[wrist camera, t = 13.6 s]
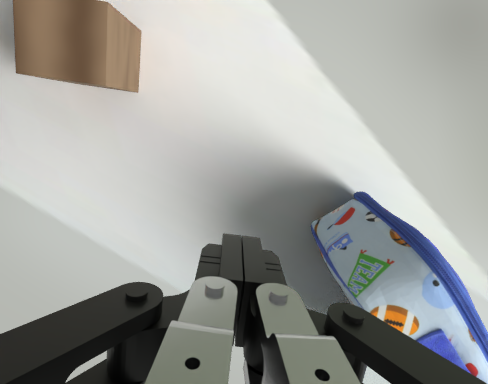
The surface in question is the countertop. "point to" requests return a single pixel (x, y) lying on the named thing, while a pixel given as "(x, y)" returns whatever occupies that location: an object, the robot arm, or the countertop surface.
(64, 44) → the walnut block
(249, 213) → the countertop surface
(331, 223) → the lunch box
